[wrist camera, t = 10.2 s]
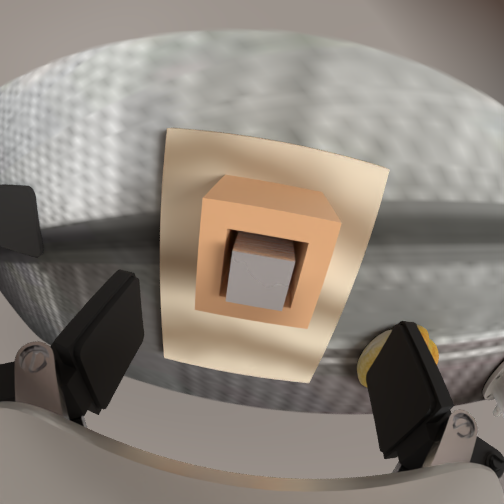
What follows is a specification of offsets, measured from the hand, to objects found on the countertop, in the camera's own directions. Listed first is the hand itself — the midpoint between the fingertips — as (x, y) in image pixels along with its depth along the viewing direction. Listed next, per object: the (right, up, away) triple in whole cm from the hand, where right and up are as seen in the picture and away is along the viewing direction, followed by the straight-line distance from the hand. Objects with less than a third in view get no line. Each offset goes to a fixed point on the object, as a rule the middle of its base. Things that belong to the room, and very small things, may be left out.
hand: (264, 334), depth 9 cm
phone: (-28, +7, +12) cm, 31 cm away
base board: (0, +1, +11) cm, 11 cm away
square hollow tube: (0, +4, +8) cm, 10 cm away
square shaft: (0, +4, +8) cm, 10 cm away
